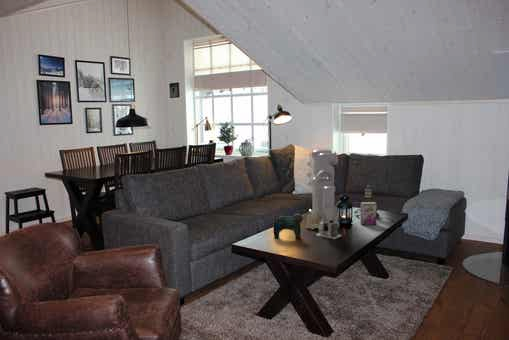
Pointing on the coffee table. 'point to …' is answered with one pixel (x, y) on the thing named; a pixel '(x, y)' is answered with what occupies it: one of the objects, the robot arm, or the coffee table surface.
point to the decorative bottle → (367, 197)
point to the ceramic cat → (288, 224)
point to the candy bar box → (368, 213)
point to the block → (329, 229)
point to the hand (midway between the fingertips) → (328, 229)
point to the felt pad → (328, 236)
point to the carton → (316, 221)
